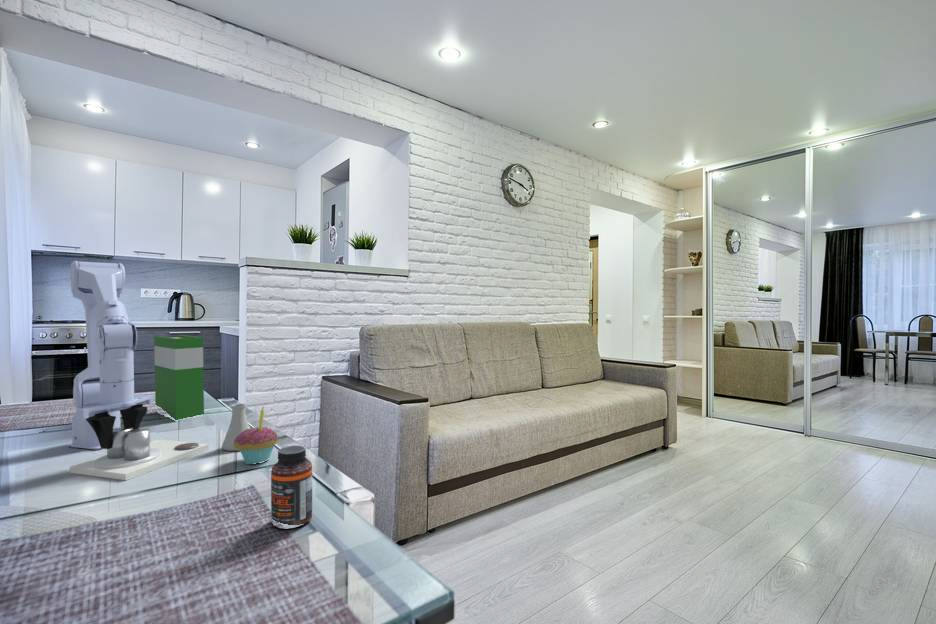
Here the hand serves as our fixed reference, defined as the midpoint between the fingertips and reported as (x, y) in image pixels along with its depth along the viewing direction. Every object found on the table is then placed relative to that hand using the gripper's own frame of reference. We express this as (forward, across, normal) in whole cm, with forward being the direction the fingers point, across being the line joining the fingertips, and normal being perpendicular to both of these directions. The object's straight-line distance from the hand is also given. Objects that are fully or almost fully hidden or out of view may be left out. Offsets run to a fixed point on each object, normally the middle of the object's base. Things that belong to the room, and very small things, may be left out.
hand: (118, 444), depth 95 cm
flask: (+4, +16, -16) cm, 23 cm away
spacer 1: (+2, 0, 0) cm, 2 cm away
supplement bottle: (+4, -12, -52) cm, 54 cm away
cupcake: (+4, +9, -27) cm, 29 cm away
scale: (+4, +3, -3) cm, 6 cm away
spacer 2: (+2, 0, -5) cm, 6 cm away
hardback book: (+4, +37, +26) cm, 45 cm away
